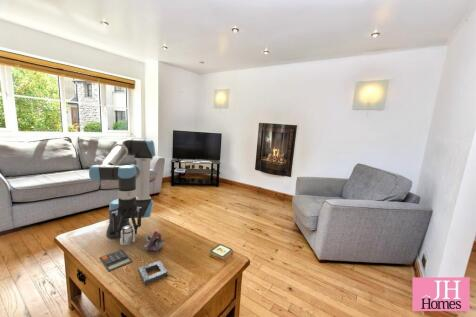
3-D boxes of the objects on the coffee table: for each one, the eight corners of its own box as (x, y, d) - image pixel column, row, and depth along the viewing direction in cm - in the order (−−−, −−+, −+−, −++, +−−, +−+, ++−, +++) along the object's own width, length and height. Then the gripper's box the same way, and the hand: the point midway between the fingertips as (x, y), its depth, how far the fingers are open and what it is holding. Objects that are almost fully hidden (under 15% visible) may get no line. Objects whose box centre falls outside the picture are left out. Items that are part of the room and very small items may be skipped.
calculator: (122, 248, 122) (132, 260, 113) (122, 250, 122) (132, 262, 113) (99, 257, 113) (108, 270, 104) (99, 258, 113) (108, 272, 104)
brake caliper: (158, 251, 119) (148, 233, 120) (145, 258, 122) (135, 241, 123) (170, 241, 130) (160, 225, 130) (158, 248, 133) (148, 232, 134)
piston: (121, 241, 103) (121, 226, 102) (131, 238, 106) (131, 224, 105) (123, 246, 100) (123, 230, 98) (133, 243, 103) (133, 228, 101)
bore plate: (138, 271, 106) (138, 267, 105) (160, 263, 113) (160, 260, 112) (144, 284, 97) (144, 280, 97) (167, 275, 104) (167, 271, 104)
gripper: (107, 203, 91) (107, 251, 94) (148, 197, 102) (148, 240, 106) (104, 197, 96) (105, 243, 100) (144, 192, 108) (144, 233, 111)
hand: (127, 241), depth 103 cm, fingers closed on piston, 5 cm apart
